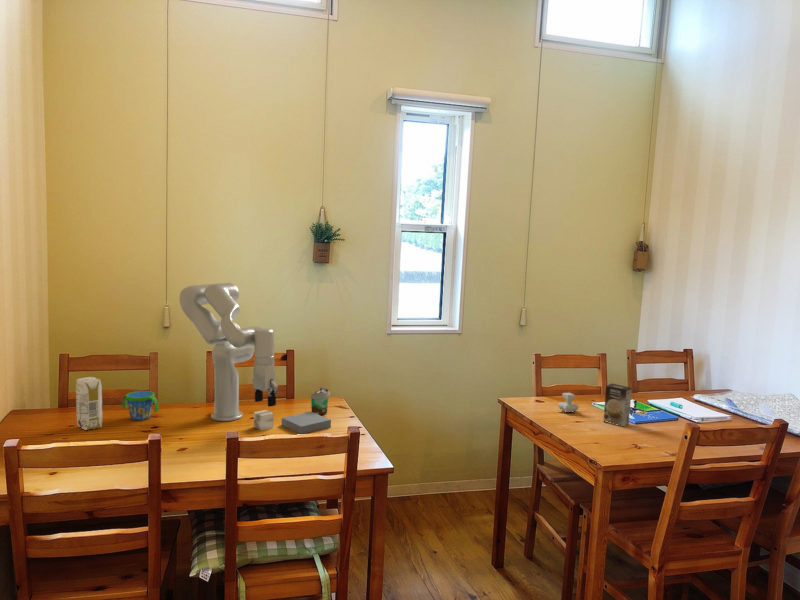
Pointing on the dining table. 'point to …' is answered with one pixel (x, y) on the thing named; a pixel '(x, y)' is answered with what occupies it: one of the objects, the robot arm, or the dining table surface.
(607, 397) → the coffee box
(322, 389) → the food container
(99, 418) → the juice carton
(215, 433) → the dining table surface
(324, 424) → the stand
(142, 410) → the snack cup
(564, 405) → the stamp
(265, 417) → the block
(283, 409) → the dining table surface
